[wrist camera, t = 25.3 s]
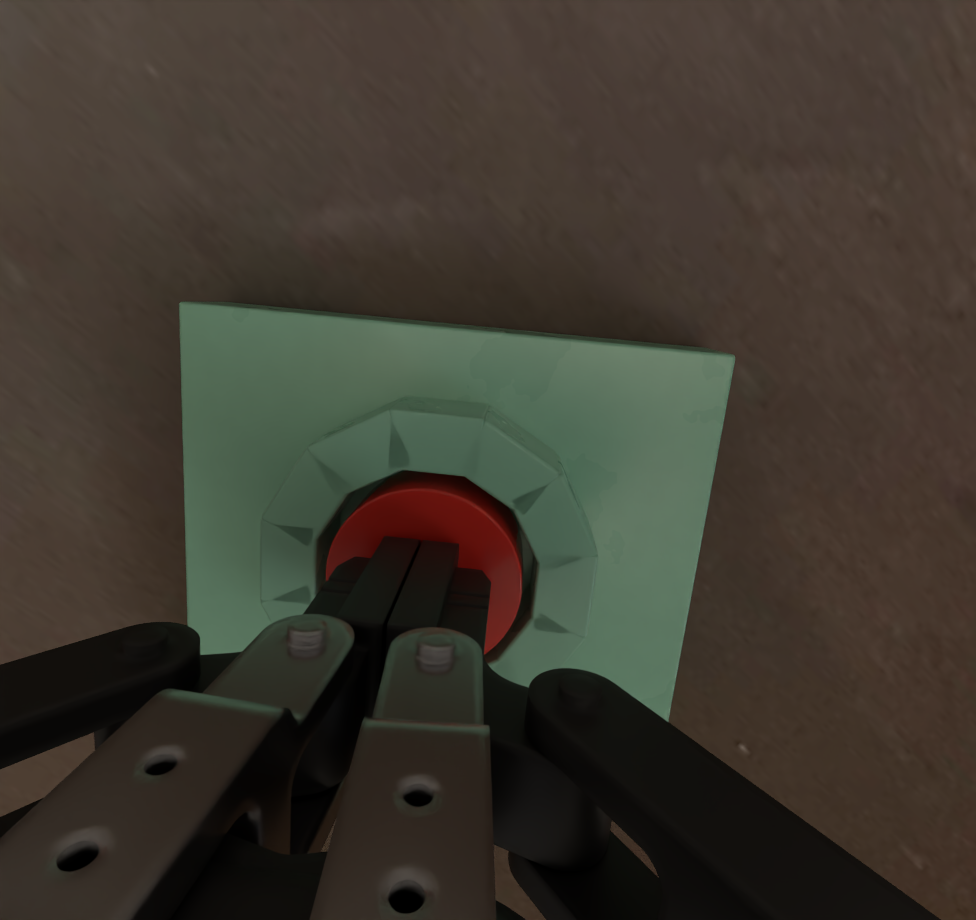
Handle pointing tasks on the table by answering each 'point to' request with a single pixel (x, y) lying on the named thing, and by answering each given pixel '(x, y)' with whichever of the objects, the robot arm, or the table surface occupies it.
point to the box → (453, 471)
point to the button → (442, 533)
